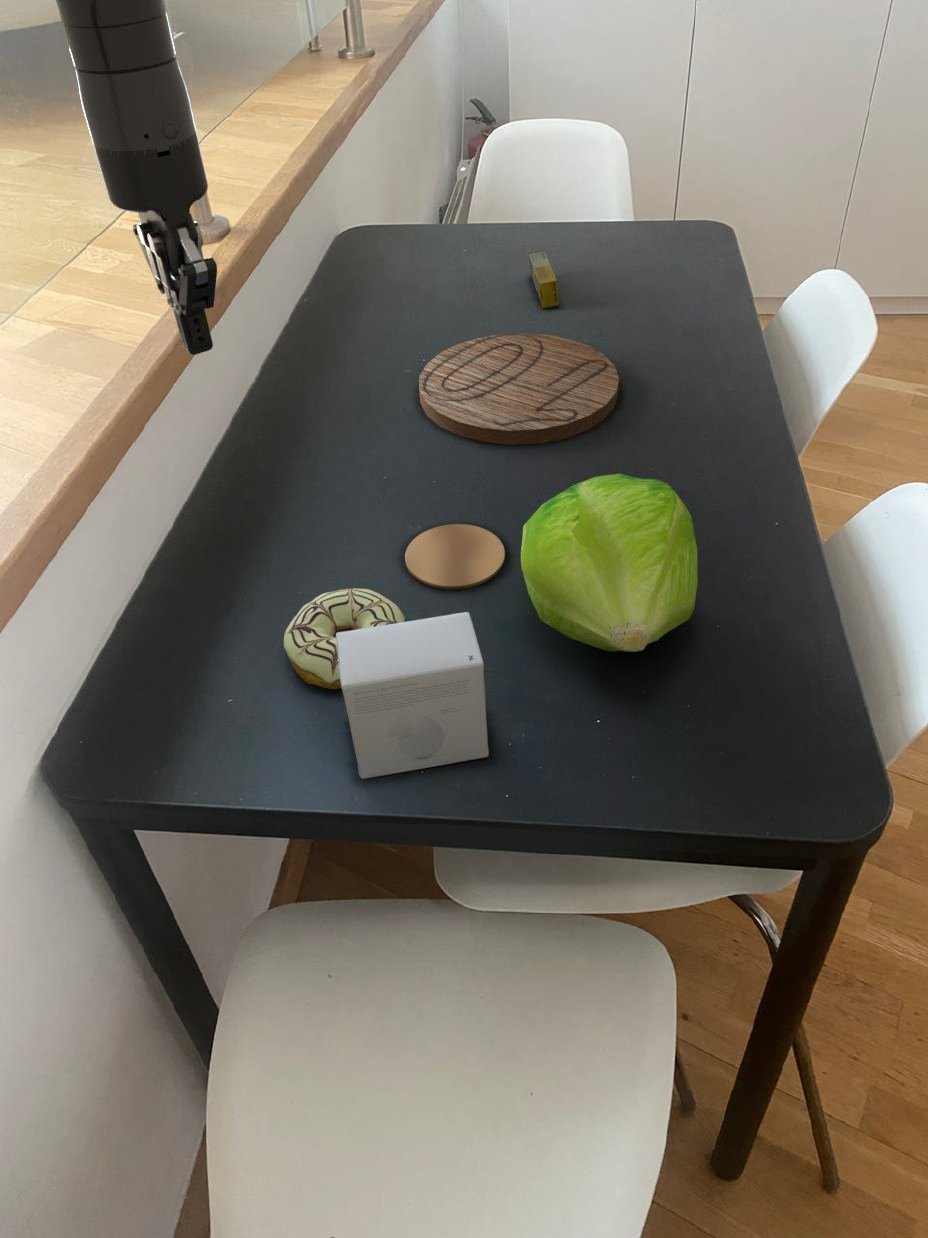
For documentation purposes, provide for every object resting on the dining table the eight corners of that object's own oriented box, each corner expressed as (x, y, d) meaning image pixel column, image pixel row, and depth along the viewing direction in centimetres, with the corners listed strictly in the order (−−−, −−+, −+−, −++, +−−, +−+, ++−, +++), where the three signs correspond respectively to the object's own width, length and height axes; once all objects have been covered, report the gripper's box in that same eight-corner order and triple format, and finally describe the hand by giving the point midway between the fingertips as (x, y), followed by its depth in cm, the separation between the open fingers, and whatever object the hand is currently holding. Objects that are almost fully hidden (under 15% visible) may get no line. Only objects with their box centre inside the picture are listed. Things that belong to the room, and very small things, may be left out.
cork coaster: (424, 600, 88) (424, 597, 87) (392, 541, 94) (392, 538, 94) (520, 573, 90) (520, 569, 90) (482, 517, 97) (482, 514, 97)
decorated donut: (265, 653, 83) (257, 622, 81) (358, 597, 88) (353, 566, 86) (335, 714, 77) (328, 683, 75) (430, 650, 82) (427, 619, 80)
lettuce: (551, 720, 76) (508, 584, 69) (545, 591, 93) (510, 471, 86) (731, 685, 73) (706, 540, 66) (692, 559, 90) (668, 431, 83)
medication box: (530, 278, 142) (527, 252, 140) (547, 274, 142) (545, 248, 140) (541, 308, 133) (539, 281, 131) (560, 305, 133) (558, 278, 131)
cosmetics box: (474, 699, 78) (469, 607, 71) (489, 758, 73) (486, 665, 66) (351, 720, 77) (334, 628, 70) (359, 781, 72) (341, 689, 65)
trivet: (653, 375, 118) (655, 362, 116) (549, 467, 103) (549, 452, 102) (493, 330, 129) (493, 317, 128) (379, 407, 115) (377, 393, 113)
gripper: (67, 122, 71) (132, 335, 83) (123, 162, 63) (186, 392, 74) (161, 104, 74) (210, 312, 85) (225, 140, 65) (270, 365, 77)
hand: (199, 349), depth 80 cm, fingers closed
